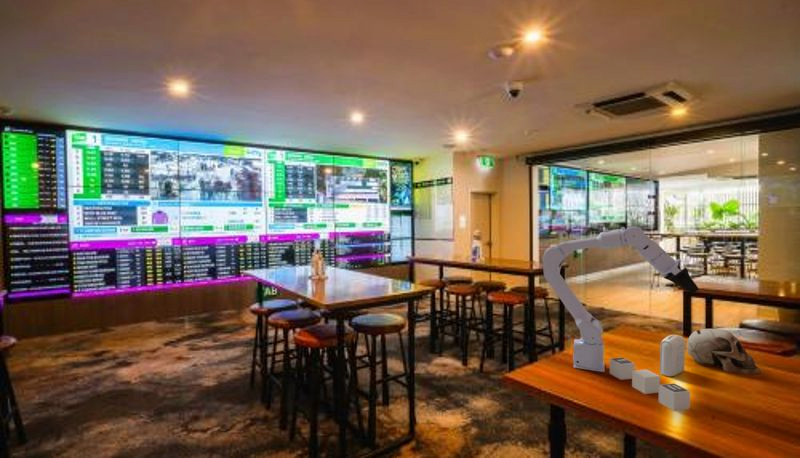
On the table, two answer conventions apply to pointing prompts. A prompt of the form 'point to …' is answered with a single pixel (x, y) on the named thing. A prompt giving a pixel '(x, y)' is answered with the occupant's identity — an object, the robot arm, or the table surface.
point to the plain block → (645, 381)
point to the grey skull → (720, 351)
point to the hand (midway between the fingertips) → (692, 290)
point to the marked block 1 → (621, 368)
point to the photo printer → (672, 355)
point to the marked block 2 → (674, 397)
